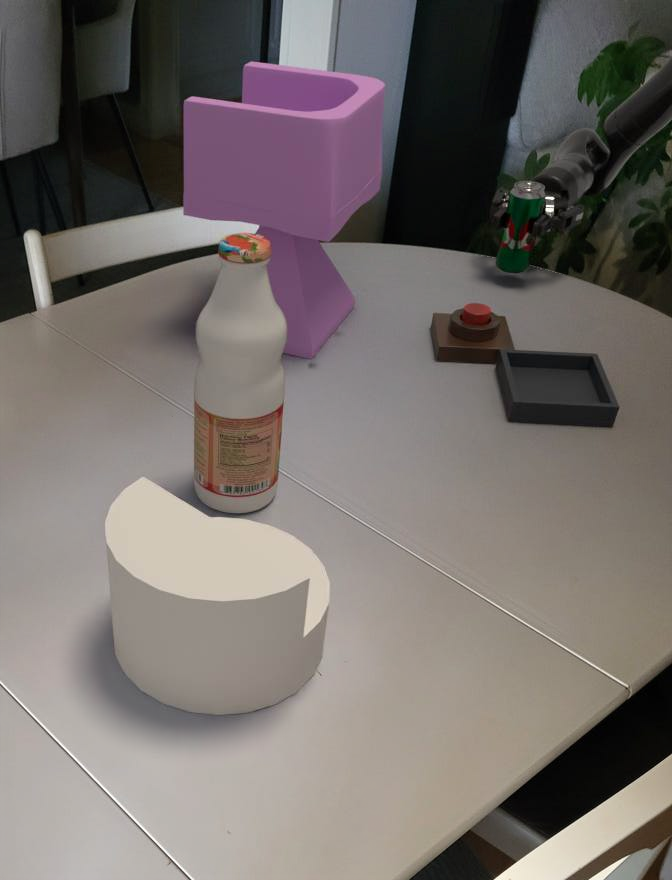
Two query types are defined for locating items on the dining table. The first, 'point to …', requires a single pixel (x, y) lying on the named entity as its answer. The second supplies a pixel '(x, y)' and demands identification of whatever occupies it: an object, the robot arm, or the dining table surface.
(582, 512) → the dining table surface
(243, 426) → the fruit juice
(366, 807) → the dining table surface
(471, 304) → the button
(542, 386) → the tray
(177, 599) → the notched white cylinder
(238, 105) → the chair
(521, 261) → the soda can
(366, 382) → the dining table surface
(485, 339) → the block
